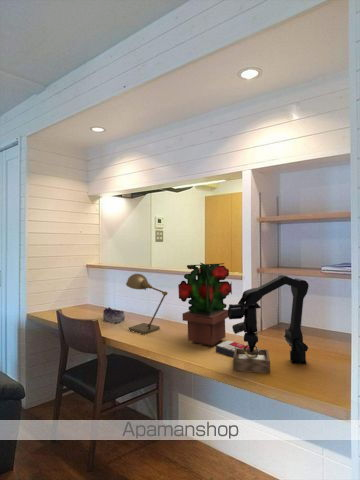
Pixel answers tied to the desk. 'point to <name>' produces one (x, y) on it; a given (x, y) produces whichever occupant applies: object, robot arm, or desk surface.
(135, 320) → the desk surface
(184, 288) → the potted plant
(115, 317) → the geode
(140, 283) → the lamp
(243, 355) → the base
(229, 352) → the calculator
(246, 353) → the ring
